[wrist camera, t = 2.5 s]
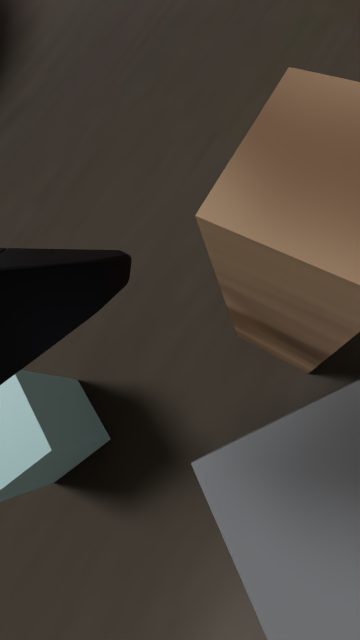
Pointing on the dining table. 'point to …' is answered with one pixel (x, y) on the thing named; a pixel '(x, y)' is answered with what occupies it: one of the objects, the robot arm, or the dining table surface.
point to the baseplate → (295, 517)
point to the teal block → (44, 431)
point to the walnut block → (292, 222)
